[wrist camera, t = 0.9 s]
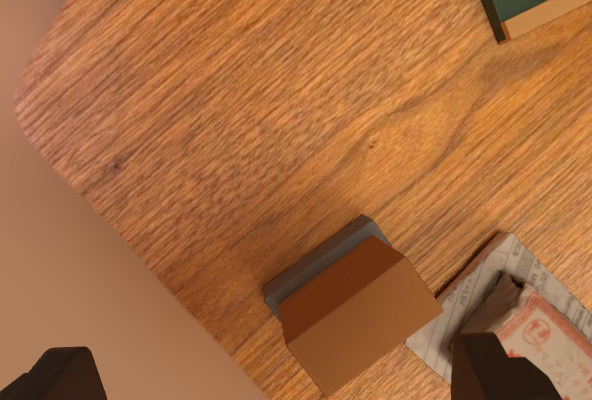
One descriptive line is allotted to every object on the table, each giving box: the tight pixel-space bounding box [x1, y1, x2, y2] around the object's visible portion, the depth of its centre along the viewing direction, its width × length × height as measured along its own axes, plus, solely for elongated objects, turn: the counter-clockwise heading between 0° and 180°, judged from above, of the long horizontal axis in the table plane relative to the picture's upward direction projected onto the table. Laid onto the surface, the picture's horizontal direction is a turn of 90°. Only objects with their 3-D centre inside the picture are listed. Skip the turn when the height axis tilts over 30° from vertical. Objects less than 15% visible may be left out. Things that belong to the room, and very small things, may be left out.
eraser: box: [263, 215, 443, 398], centre depth 25 cm, size 8×5×8 cm, turn 126°
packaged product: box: [403, 232, 592, 400], centre depth 29 cm, size 18×5×10 cm
